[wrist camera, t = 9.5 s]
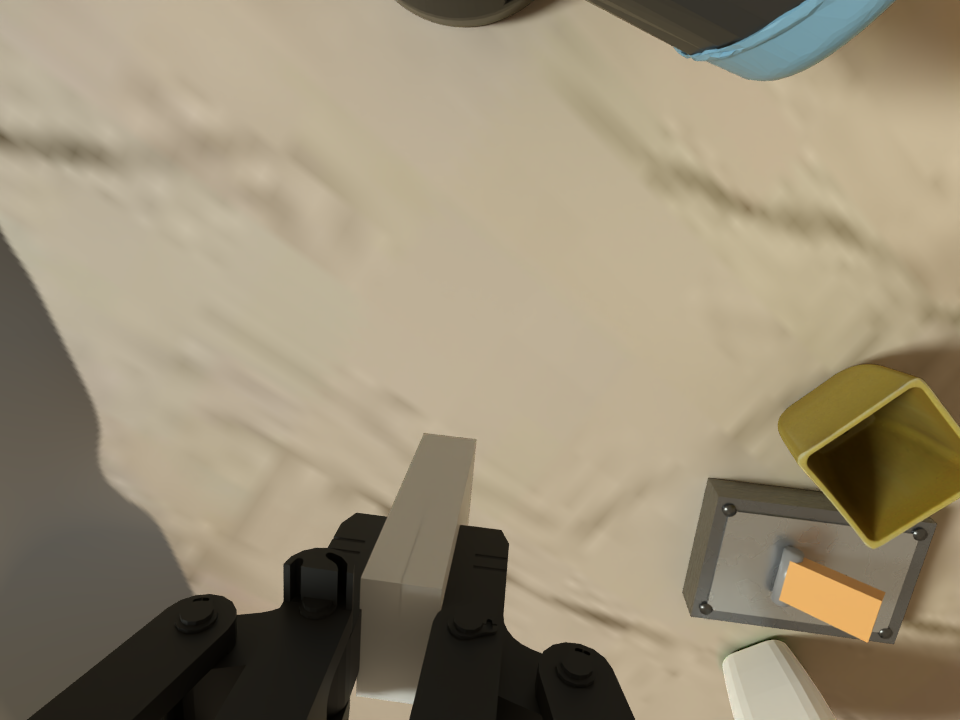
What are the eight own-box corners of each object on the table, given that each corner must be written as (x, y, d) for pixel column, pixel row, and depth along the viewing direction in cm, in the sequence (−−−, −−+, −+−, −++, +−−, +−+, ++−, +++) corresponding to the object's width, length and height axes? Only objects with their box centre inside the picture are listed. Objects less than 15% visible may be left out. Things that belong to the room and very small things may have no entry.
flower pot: (915, 421, 47) (1000, 477, 38) (814, 487, 49) (873, 553, 40) (848, 336, 45) (920, 374, 37) (748, 408, 48) (794, 460, 39)
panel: (708, 477, 50) (719, 497, 47) (913, 503, 49) (938, 525, 46) (682, 592, 53) (691, 618, 50) (874, 618, 52) (895, 645, 49)
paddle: (781, 551, 46) (883, 595, 42) (787, 544, 47) (887, 587, 43) (768, 600, 48) (865, 647, 44) (773, 592, 49) (869, 638, 45)
